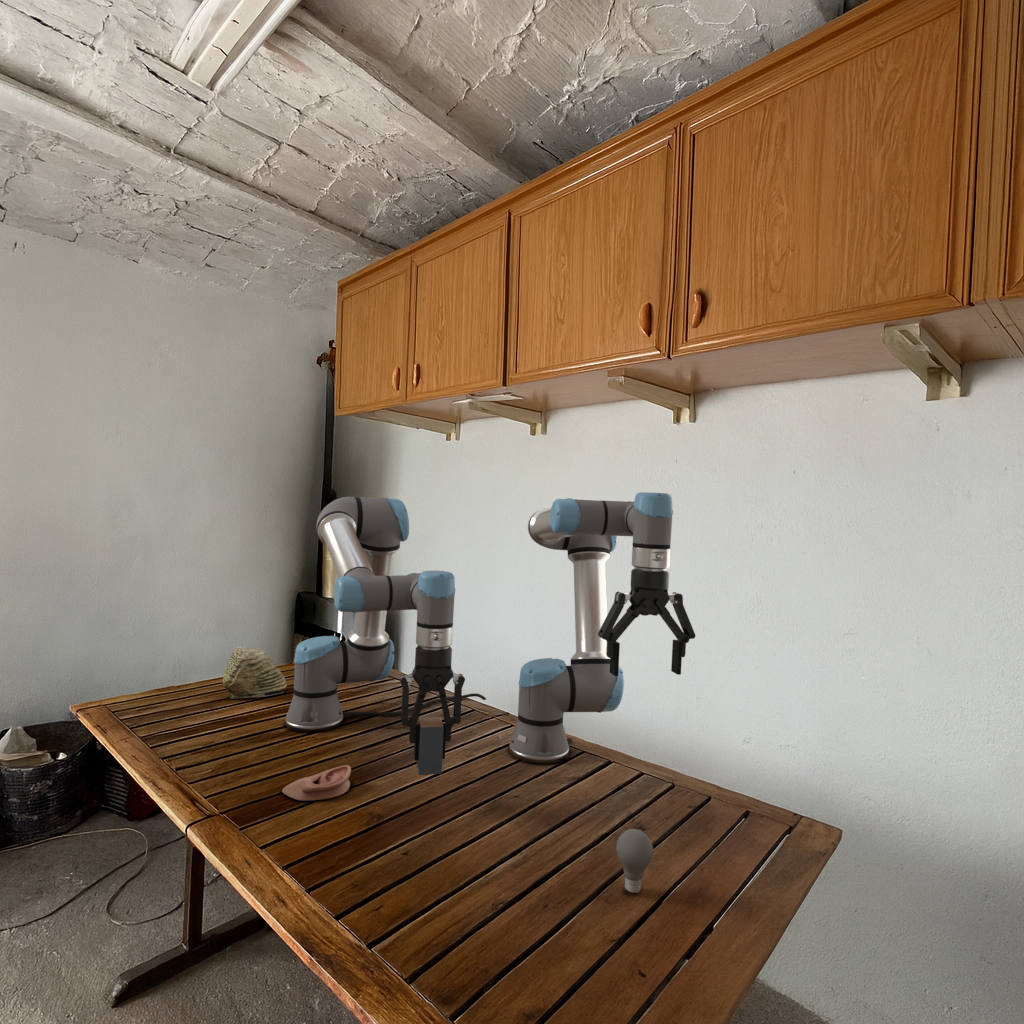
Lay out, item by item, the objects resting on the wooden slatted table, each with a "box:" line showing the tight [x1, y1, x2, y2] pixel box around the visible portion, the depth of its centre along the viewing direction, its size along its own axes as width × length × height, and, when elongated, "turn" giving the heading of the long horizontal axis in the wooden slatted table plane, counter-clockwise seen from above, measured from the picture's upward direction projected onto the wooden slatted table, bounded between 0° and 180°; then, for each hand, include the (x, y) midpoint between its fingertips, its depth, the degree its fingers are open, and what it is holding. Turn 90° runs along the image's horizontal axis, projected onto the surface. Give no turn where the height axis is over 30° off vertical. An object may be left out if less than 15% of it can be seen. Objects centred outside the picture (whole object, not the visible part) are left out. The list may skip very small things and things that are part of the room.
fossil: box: [222, 646, 288, 699], centre depth 198 cm, size 9×18×15 cm, turn 132°
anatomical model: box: [281, 764, 352, 802], centre depth 137 cm, size 13×4×12 cm
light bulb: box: [615, 828, 654, 894], centre depth 106 cm, size 6×6×10 cm
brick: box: [415, 716, 444, 776], centre depth 132 cm, size 5×6×10 cm
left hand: (429, 756), depth 132 cm, fingers closed on brick, 5 cm apart
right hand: (645, 673), depth 128 cm, fingers open, 13 cm apart
